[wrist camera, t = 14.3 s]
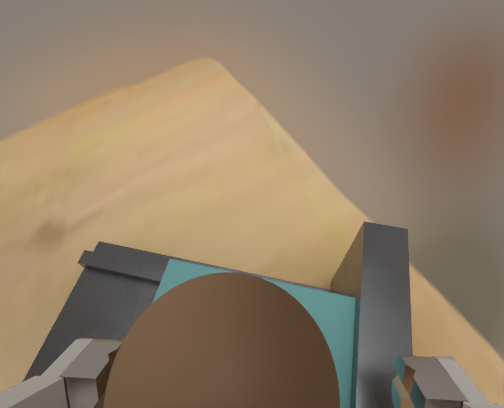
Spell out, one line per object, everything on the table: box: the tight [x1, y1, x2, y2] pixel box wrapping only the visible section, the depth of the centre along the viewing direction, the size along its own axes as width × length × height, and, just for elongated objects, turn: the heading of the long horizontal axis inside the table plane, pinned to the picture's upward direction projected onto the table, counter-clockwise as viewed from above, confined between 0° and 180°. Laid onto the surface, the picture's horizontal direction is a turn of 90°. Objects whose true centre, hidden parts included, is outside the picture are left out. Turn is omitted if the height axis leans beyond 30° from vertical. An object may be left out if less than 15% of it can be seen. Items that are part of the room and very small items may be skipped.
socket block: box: [152, 259, 356, 408], centre depth 15 cm, size 9×9×7 cm
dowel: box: [103, 272, 340, 408], centre depth 10 cm, size 4×4×12 cm
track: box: [23, 222, 413, 408], centre depth 16 cm, size 20×16×9 cm
